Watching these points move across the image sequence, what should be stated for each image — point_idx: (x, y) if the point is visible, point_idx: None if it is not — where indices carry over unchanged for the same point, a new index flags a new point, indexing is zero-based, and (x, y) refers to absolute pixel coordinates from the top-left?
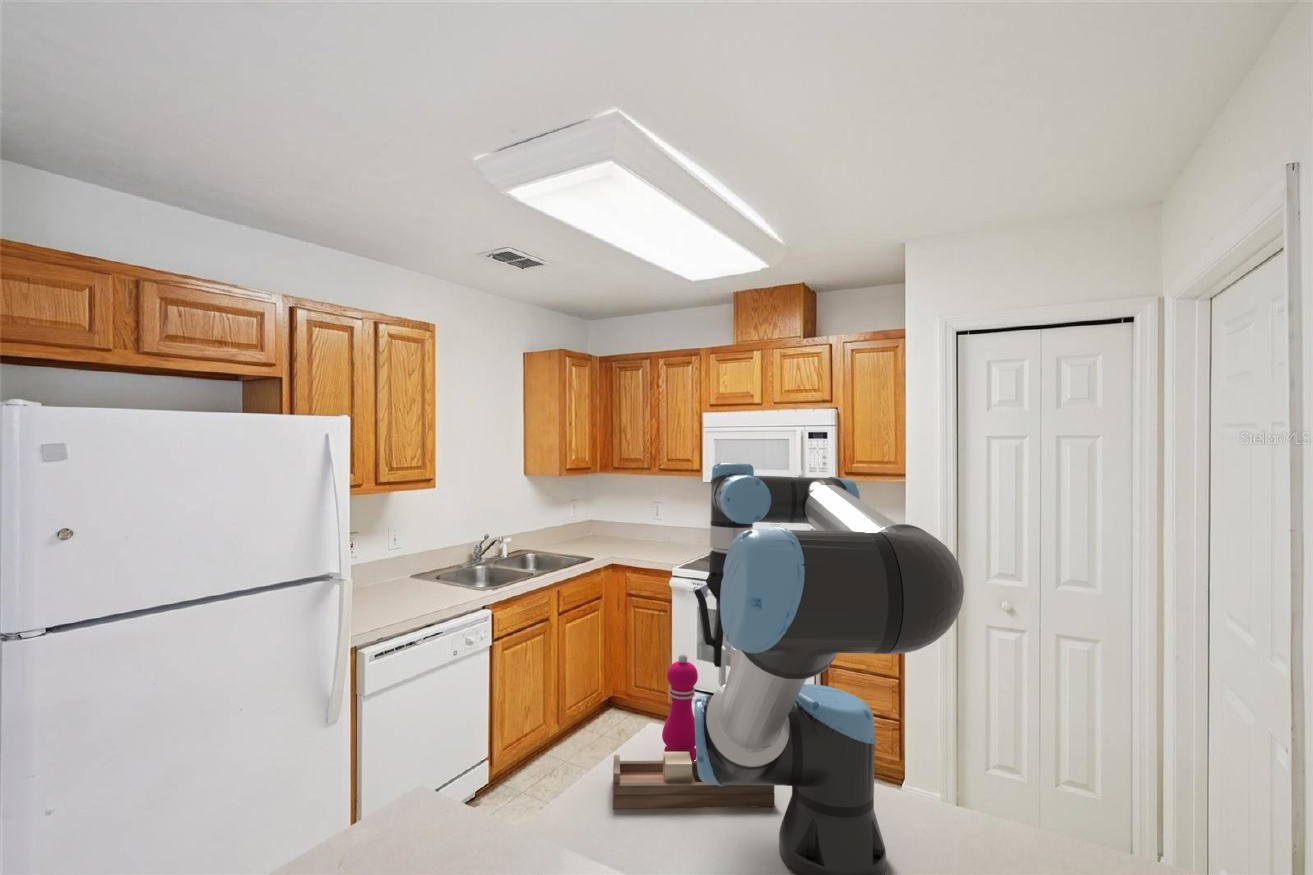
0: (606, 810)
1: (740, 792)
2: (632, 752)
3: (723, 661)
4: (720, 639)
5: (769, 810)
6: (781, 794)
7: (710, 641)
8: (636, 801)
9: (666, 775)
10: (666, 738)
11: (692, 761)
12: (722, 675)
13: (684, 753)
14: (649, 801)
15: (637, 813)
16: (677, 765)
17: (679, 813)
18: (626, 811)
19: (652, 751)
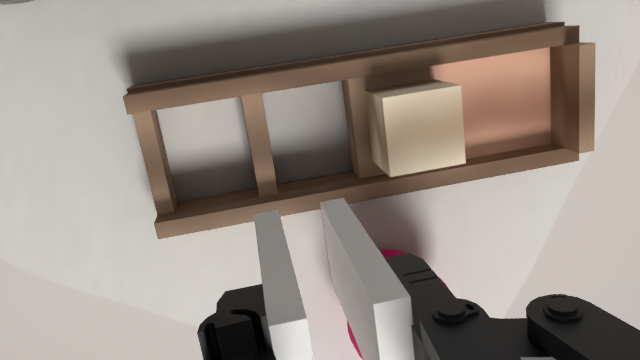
0: (560, 12)
1: (228, 78)
2: (503, 296)
3: (370, 260)
4: (463, 349)
5: (147, 66)
6: (110, 154)
7: (550, 313)
8: (500, 30)
9: (445, 82)
10: (445, 285)
11: (366, 195)
12: (352, 221)
13: (404, 162)
14: (468, 35)
15: (488, 8)
16: (425, 90)
17: (386, 21)
18: (514, 14)
19: None
